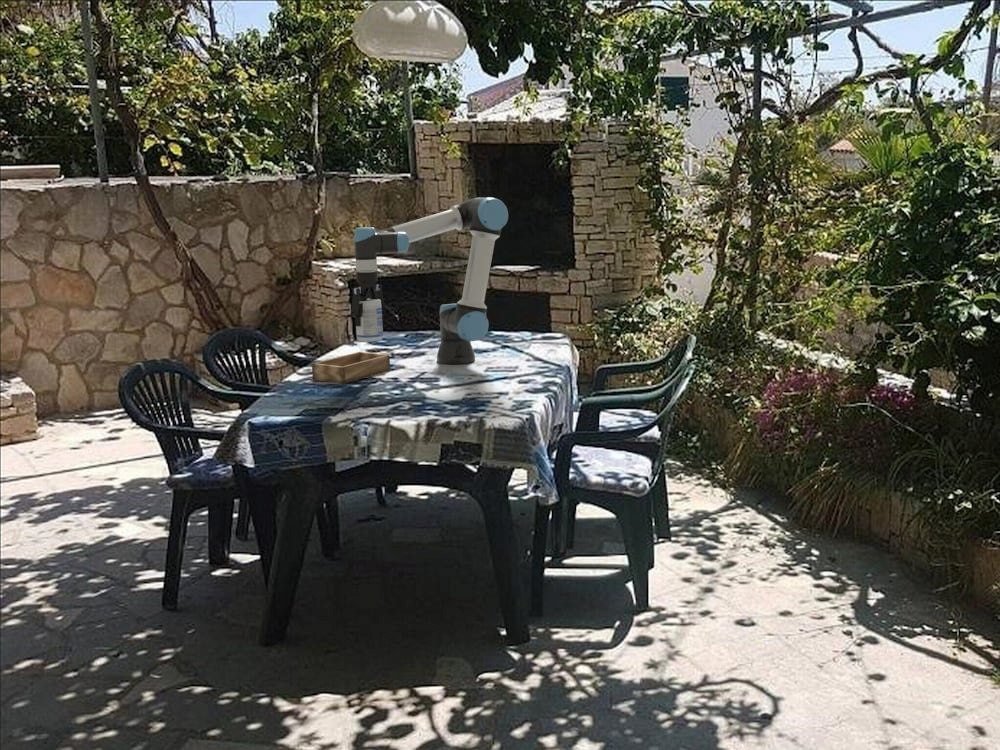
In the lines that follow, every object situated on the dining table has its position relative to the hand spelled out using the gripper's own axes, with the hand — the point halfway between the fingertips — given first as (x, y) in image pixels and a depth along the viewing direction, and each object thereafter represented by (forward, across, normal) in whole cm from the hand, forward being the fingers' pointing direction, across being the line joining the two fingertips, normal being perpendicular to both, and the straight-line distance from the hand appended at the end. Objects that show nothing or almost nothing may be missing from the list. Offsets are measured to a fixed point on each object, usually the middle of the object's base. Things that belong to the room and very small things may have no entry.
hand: (369, 332), depth 320 cm
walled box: (+17, 0, -10) cm, 19 cm away
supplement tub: (+3, 0, 0) cm, 3 cm away
